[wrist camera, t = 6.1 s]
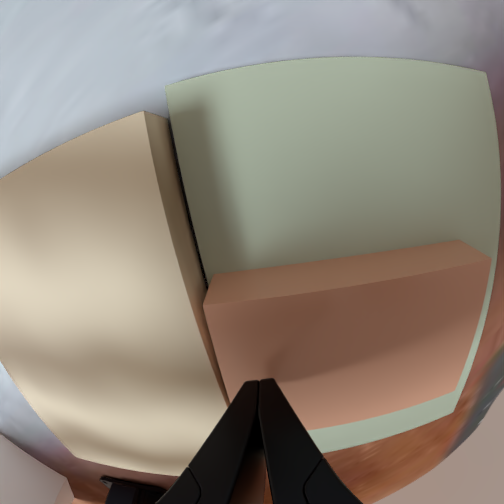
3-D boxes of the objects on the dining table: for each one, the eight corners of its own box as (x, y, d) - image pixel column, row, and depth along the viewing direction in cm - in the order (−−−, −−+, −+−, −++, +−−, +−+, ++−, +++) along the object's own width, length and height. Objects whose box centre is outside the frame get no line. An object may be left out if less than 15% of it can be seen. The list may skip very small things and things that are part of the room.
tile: (436, 363, 11) (454, 390, 9) (243, 400, 11) (241, 436, 9) (459, 239, 9) (491, 258, 7) (213, 274, 9) (202, 305, 7)
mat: (450, 408, 12) (452, 412, 12) (264, 455, 13) (264, 460, 13) (479, 73, 7) (485, 72, 6) (168, 88, 8) (164, 86, 7)
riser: (257, 447, 13) (257, 476, 11) (85, 436, 14) (75, 457, 12) (167, 118, 8) (143, 110, 6) (-30, 210, 9) (-56, 220, 7)
